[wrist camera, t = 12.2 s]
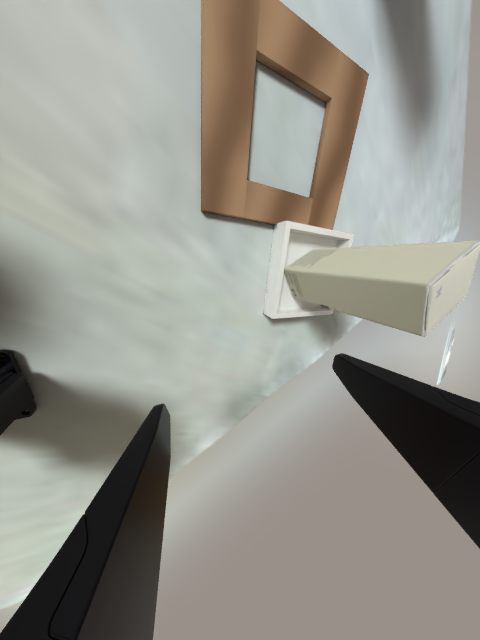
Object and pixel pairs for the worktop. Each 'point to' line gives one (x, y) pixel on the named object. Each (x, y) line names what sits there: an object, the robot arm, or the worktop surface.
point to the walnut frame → (237, 100)
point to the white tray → (287, 249)
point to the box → (388, 281)
